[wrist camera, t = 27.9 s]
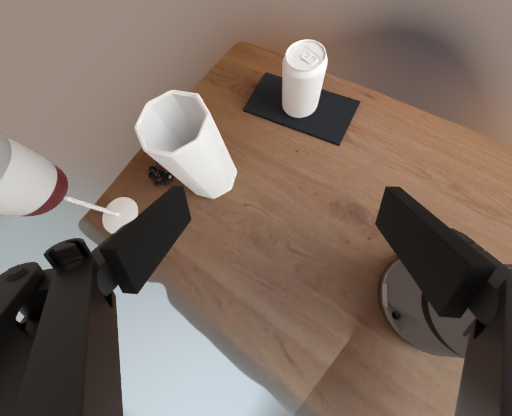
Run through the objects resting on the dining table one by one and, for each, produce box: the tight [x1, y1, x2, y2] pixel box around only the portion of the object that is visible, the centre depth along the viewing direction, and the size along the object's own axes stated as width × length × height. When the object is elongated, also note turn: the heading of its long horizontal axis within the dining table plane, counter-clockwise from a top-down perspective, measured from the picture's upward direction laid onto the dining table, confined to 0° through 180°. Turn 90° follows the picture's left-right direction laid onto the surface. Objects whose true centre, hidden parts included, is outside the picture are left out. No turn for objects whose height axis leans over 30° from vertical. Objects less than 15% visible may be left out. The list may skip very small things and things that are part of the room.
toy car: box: [147, 162, 173, 186], centre depth 46 cm, size 6×12×4 cm, turn 152°
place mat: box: [243, 73, 360, 146], centre depth 48 cm, size 24×12×1 cm, turn 63°
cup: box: [134, 90, 237, 199], centre depth 37 cm, size 11×11×18 cm
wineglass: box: [0, 135, 138, 234], centre depth 35 cm, size 9×10×23 cm
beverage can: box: [282, 39, 327, 118], centre depth 42 cm, size 8×8×12 cm
